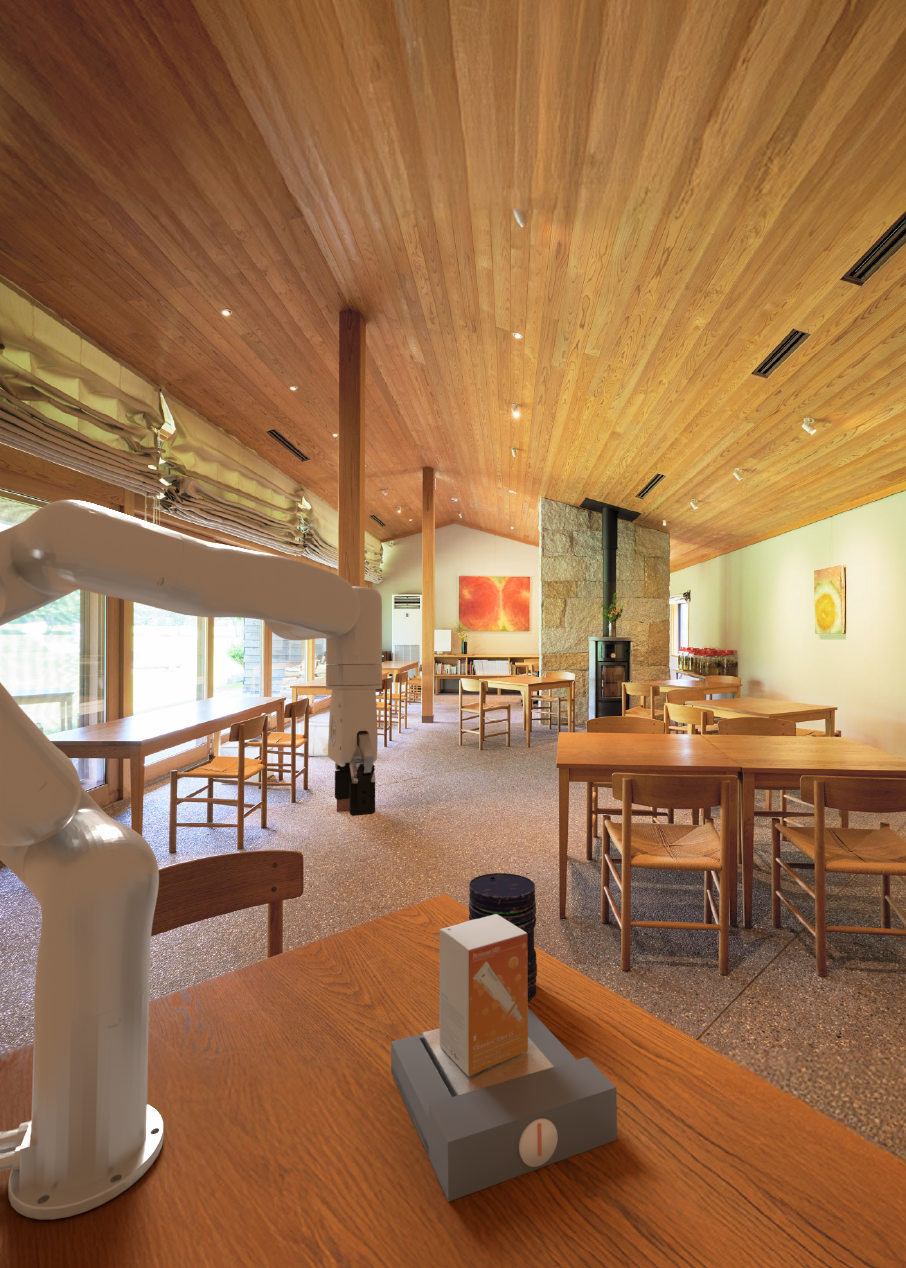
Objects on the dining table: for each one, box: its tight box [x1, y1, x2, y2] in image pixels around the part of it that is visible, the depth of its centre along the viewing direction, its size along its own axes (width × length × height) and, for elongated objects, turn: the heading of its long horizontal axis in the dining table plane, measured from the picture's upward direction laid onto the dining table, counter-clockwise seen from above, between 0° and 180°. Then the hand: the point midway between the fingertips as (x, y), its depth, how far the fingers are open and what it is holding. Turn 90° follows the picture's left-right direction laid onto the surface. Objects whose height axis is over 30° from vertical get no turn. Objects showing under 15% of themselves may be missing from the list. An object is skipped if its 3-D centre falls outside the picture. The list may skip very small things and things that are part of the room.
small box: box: [438, 914, 529, 1077], centre depth 67 cm, size 8×6×13 cm
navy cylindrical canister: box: [468, 872, 538, 1004], centre depth 87 cm, size 10×10×15 cm
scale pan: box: [422, 1027, 554, 1097], centre depth 66 cm, size 11×11×3 cm
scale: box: [390, 1007, 618, 1203], centre depth 64 cm, size 18×18×5 cm
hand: (353, 806), depth 80 cm, fingers open, 9 cm apart
